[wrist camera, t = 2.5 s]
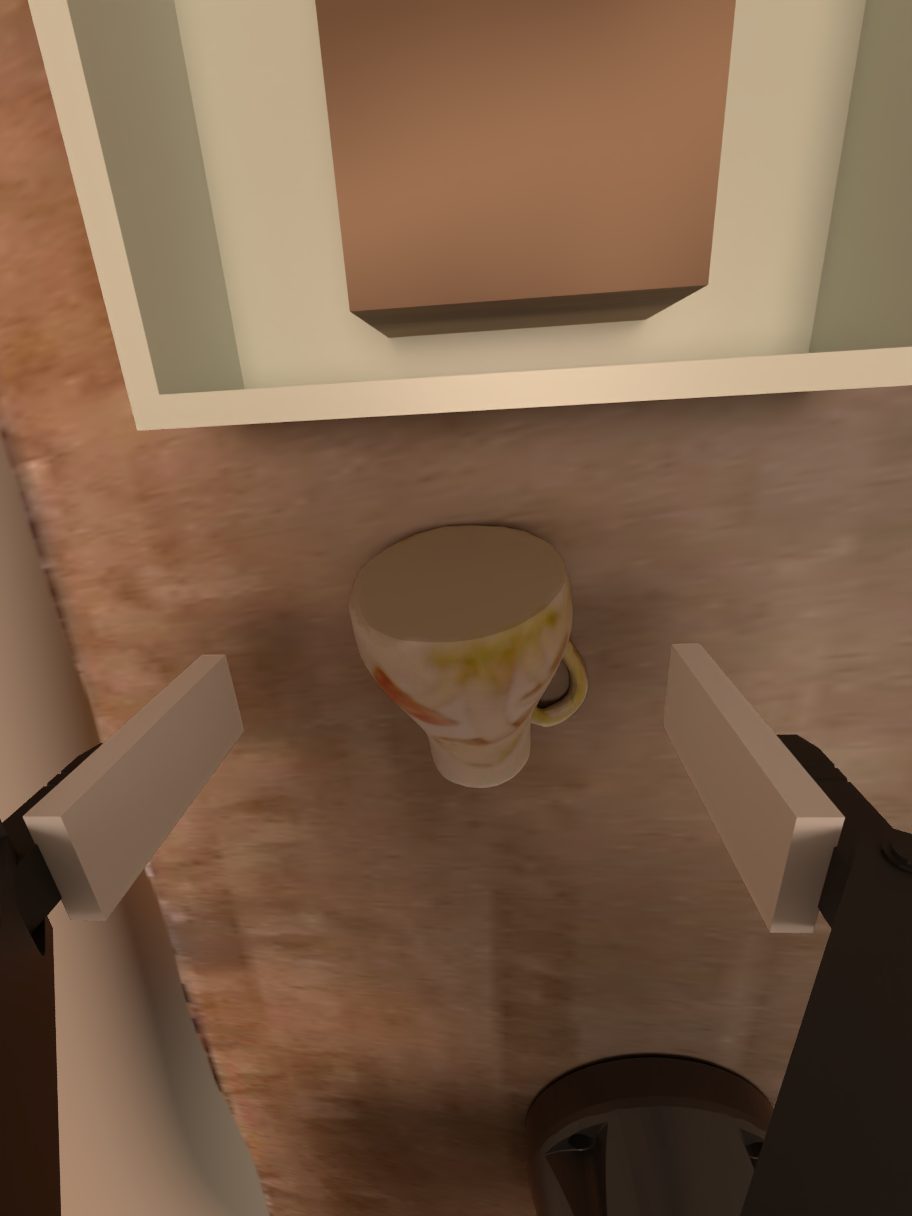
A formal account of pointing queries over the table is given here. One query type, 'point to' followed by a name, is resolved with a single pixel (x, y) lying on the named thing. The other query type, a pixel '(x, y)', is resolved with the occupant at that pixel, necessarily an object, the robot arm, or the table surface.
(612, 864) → the table surface
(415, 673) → the mug
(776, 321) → the tote
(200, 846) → the table surface
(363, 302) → the walnut block
